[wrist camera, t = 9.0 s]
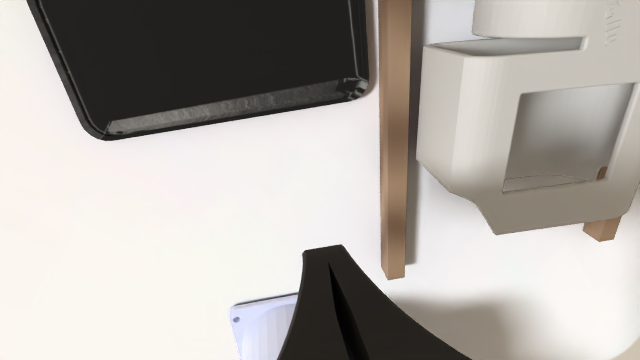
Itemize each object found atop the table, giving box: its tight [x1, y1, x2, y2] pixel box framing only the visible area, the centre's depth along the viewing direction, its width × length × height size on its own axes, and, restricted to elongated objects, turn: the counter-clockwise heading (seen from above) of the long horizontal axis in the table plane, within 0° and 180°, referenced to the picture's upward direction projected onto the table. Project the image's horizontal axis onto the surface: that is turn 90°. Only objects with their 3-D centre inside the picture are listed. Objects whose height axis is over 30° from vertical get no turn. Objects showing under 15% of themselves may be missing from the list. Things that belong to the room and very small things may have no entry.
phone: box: [27, 0, 369, 141], centre depth 18 cm, size 8×1×15 cm
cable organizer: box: [416, 0, 640, 235], centre depth 19 cm, size 7×12×12 cm
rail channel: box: [378, 0, 621, 280], centre depth 21 cm, size 21×17×4 cm
